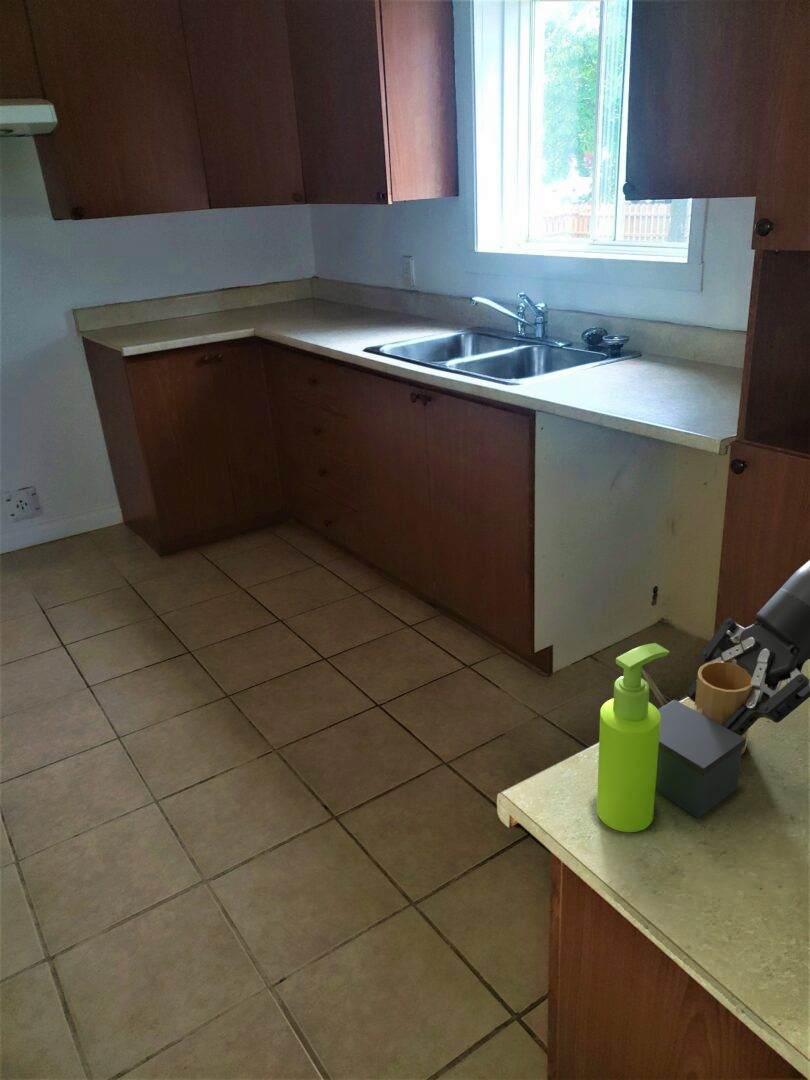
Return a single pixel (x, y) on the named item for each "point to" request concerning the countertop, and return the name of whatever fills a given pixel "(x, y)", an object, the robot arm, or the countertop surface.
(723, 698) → the cup
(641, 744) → the soap dispenser
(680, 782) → the dark grey box
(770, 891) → the countertop surface
